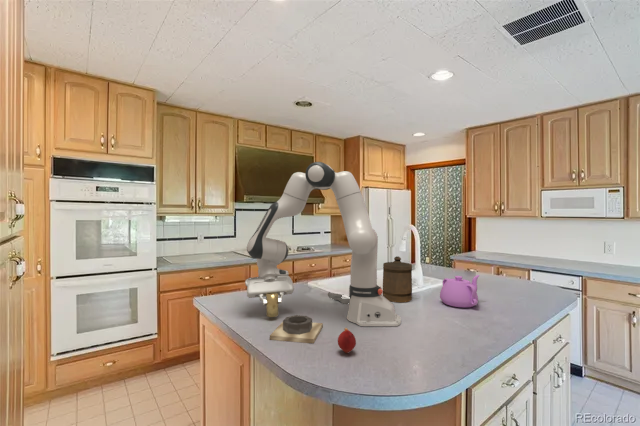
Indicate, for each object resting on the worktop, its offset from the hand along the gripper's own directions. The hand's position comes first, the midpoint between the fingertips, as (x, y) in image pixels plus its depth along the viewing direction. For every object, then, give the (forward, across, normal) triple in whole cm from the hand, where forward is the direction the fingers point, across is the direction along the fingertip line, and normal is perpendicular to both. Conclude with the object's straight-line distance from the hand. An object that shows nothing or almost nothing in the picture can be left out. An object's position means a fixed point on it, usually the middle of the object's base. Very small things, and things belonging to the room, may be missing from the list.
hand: (272, 304), depth 135 cm
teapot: (+10, +92, +1) cm, 93 cm away
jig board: (+17, +6, -8) cm, 20 cm away
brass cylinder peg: (+3, 0, +4) cm, 5 cm away
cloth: (-9, +39, +20) cm, 45 cm away
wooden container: (-3, +67, +13) cm, 68 cm away
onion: (+33, +17, -23) cm, 43 cm away
